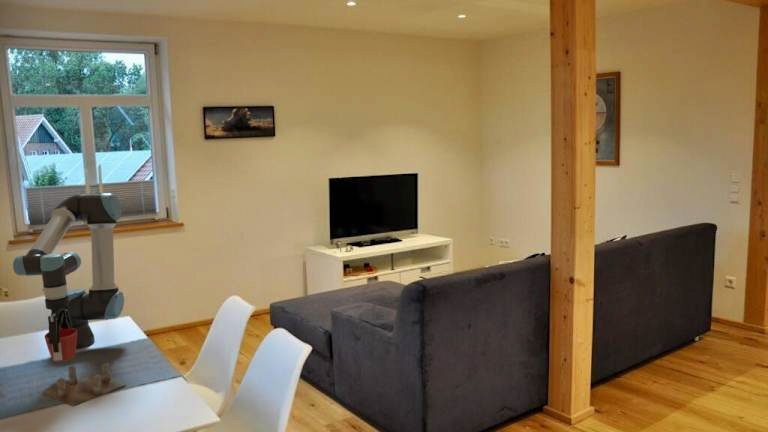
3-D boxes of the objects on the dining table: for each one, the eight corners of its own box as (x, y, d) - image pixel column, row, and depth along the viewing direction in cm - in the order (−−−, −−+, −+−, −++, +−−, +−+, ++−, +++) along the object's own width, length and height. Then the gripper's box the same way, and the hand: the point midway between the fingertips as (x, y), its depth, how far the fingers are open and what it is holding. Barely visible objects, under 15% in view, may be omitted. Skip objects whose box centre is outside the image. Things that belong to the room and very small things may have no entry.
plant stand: (96, 375, 230) (95, 358, 229) (125, 386, 219) (124, 368, 218) (44, 393, 215) (42, 375, 214) (72, 406, 204) (70, 387, 203)
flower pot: (86, 354, 232) (83, 329, 230) (60, 365, 222) (57, 339, 220) (67, 350, 236) (64, 326, 234) (40, 361, 226) (37, 336, 225)
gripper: (56, 288, 235) (63, 344, 239) (33, 306, 213) (40, 367, 217) (77, 287, 236) (83, 342, 240) (56, 305, 214) (63, 365, 218)
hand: (63, 354), depth 228 cm, fingers closed on flower pot, 10 cm apart
